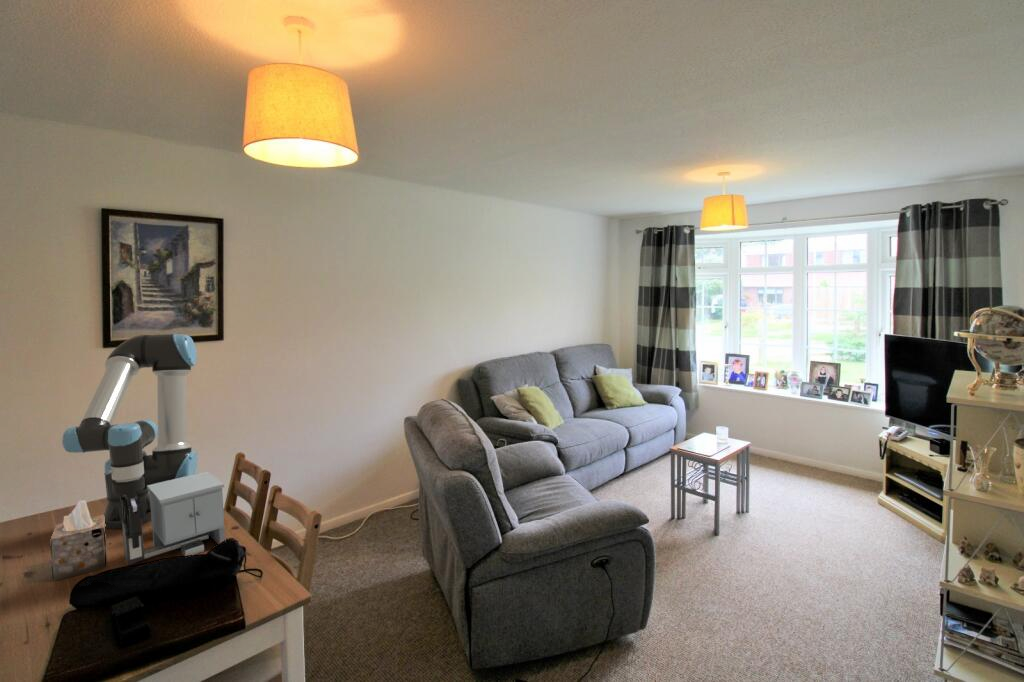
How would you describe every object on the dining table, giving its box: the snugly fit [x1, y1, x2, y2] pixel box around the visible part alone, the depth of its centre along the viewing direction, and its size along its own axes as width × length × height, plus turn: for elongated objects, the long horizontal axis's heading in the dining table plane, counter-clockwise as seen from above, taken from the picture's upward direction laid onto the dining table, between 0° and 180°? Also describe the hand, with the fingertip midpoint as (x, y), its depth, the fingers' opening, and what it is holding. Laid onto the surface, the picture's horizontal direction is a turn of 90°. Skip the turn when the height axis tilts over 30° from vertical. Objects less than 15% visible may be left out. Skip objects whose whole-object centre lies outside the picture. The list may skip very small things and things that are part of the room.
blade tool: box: [121, 519, 209, 566], centre depth 155 cm, size 4×21×12 cm, turn 137°
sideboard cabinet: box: [147, 471, 226, 548], centre depth 159 cm, size 17×17×20 cm
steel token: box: [180, 539, 205, 557], centre depth 157 cm, size 5×5×2 cm
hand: (134, 554), depth 150 cm, fingers closed on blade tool, 4 cm apart
